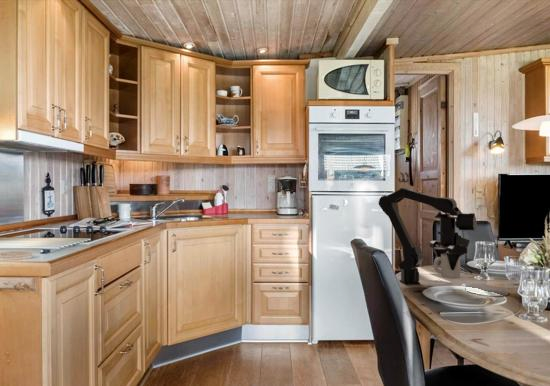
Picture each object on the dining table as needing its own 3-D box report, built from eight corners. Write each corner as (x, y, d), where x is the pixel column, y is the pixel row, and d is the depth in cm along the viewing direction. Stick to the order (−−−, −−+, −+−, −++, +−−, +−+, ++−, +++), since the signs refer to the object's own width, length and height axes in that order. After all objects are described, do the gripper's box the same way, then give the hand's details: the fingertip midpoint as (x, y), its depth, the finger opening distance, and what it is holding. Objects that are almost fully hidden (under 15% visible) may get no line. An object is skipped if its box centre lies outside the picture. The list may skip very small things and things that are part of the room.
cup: (461, 279, 161) (461, 256, 161) (434, 277, 164) (434, 255, 164) (458, 275, 168) (458, 253, 168) (432, 274, 171) (432, 252, 171)
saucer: (480, 298, 152) (480, 295, 152) (457, 288, 167) (457, 285, 167) (517, 296, 154) (517, 293, 154) (491, 286, 169) (491, 283, 169)
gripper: (480, 231, 157) (480, 272, 157) (453, 226, 176) (453, 263, 176) (453, 232, 156) (453, 273, 156) (428, 227, 174) (429, 264, 175)
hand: (447, 268), depth 166 cm, fingers closed on cup, 7 cm apart
